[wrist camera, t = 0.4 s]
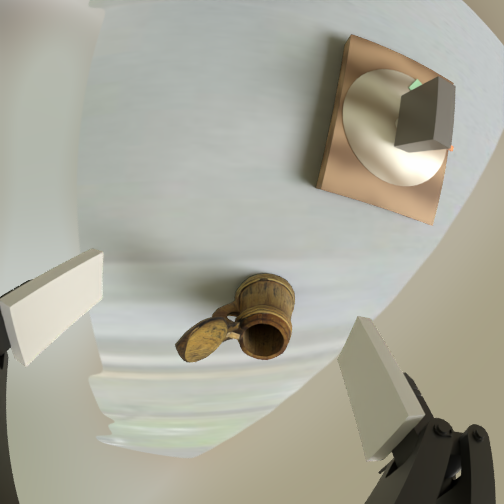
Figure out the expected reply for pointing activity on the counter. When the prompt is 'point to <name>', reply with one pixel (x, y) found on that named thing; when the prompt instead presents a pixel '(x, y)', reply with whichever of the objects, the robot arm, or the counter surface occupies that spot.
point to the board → (379, 135)
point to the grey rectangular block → (426, 117)
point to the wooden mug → (246, 321)
